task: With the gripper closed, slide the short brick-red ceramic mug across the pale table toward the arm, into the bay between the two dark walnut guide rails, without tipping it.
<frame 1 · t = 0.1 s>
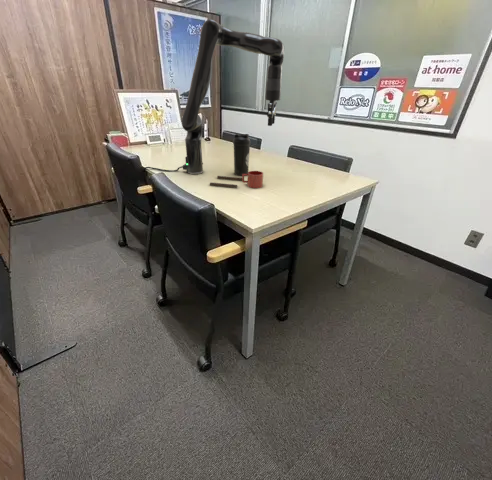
hand: (271, 124, 140), 29 cm above the table, tool pointing down, fingers open, 8 cm apart
mug: (254, 185, 144), on the table
guide rails: (226, 183, 147), on the table
water bottle: (241, 174, 162), on the table
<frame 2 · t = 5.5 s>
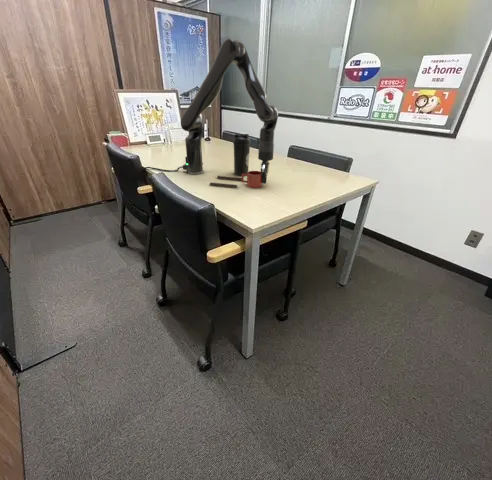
hand: (264, 183, 142), 2 cm above the table, tool pointing down, fingers closed
mug: (254, 185, 144), on the table, touching gripper
everything else where it was.
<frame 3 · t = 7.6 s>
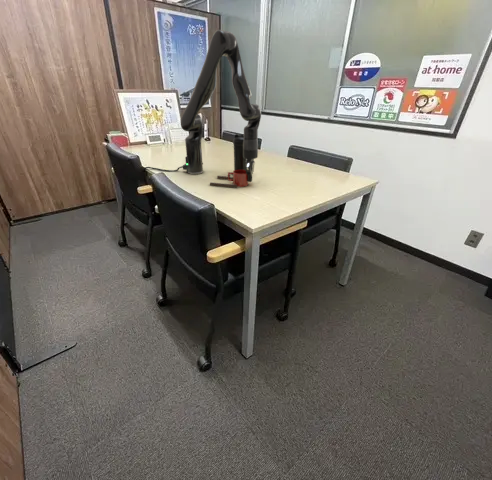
hand: (249, 181, 143), 2 cm above the table, tool pointing down, fingers closed
mug: (240, 184, 145), on the table, touching gripper
everything else where it was.
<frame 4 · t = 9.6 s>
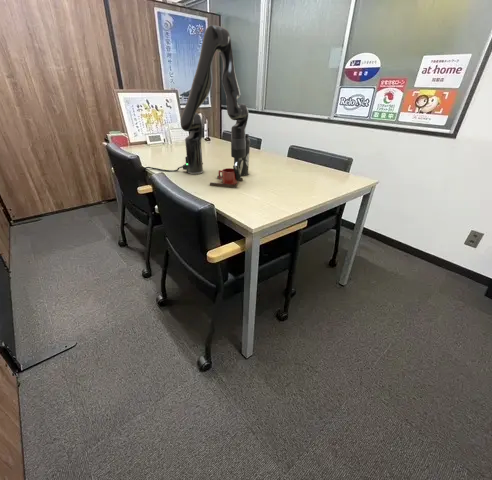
hand: (238, 180, 144), 2 cm above the table, tool pointing down, fingers closed
mug: (229, 182, 147), on the table, touching gripper, hand
everything else where it was.
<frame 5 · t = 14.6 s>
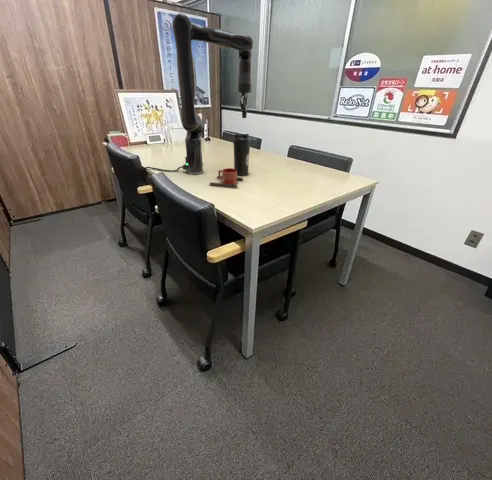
hand: (244, 117, 151), 31 cm above the table, tool pointing down, fingers closed
mug: (229, 182, 147), on the table
everything else where it was.
at the end: mug inside the target area (1.0 cm from its centre), on the table; mug tilted 0°; mug moved 14.5 cm from its start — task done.
